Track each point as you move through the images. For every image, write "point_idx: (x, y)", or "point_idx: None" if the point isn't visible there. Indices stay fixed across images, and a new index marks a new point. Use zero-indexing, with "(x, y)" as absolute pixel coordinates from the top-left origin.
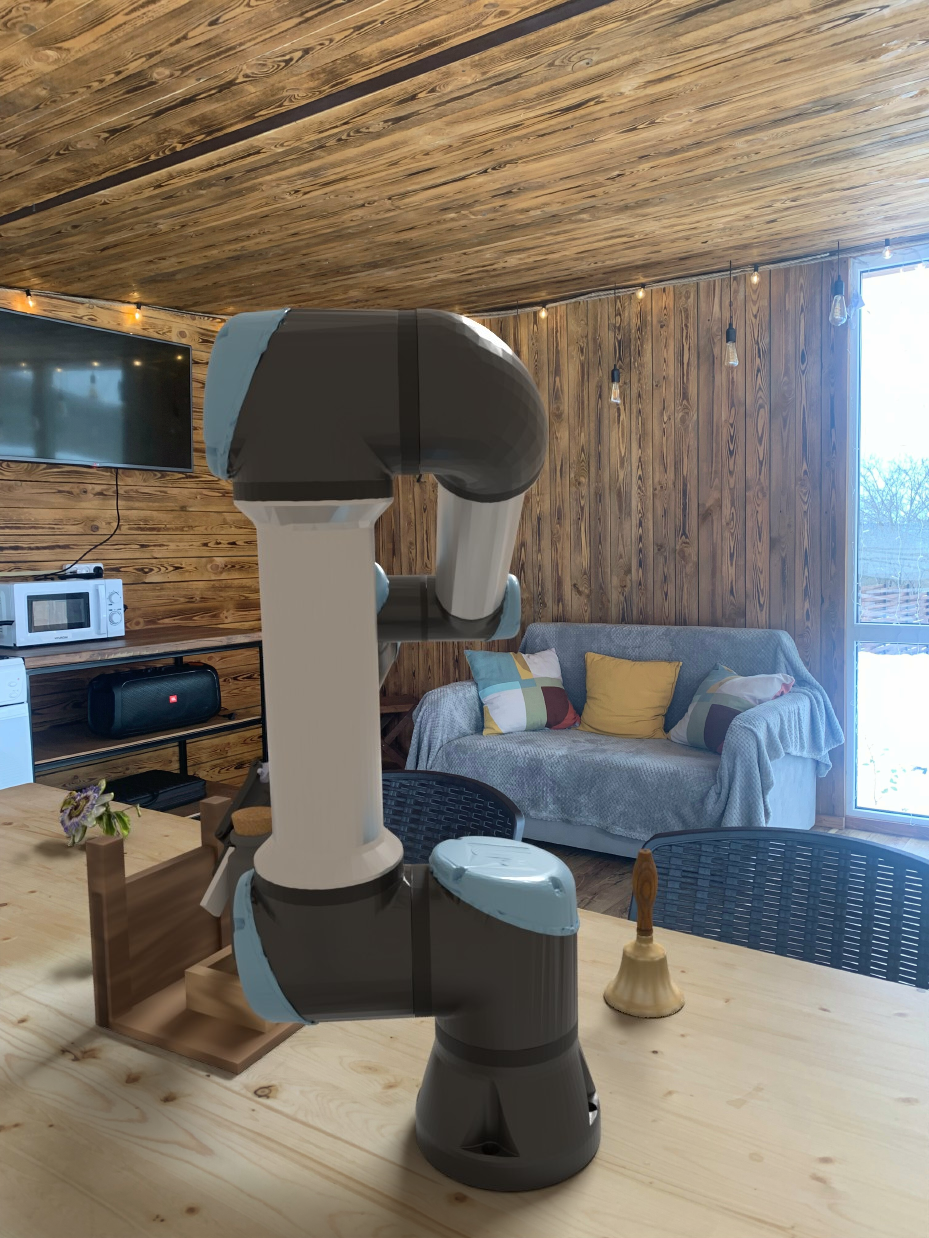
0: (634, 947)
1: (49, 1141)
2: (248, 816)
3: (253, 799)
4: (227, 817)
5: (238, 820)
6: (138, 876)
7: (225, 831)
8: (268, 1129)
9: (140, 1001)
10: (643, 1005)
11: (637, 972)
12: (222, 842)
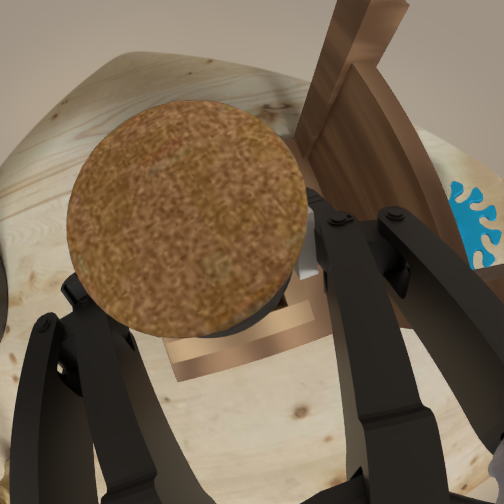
0: (3, 494)
1: (174, 69)
2: (147, 148)
3: (464, 372)
4: (432, 246)
5: (157, 106)
6: (379, 93)
7: (385, 227)
8: (61, 176)
9: (314, 172)
10: (7, 466)
11: (4, 480)
12: (367, 221)
